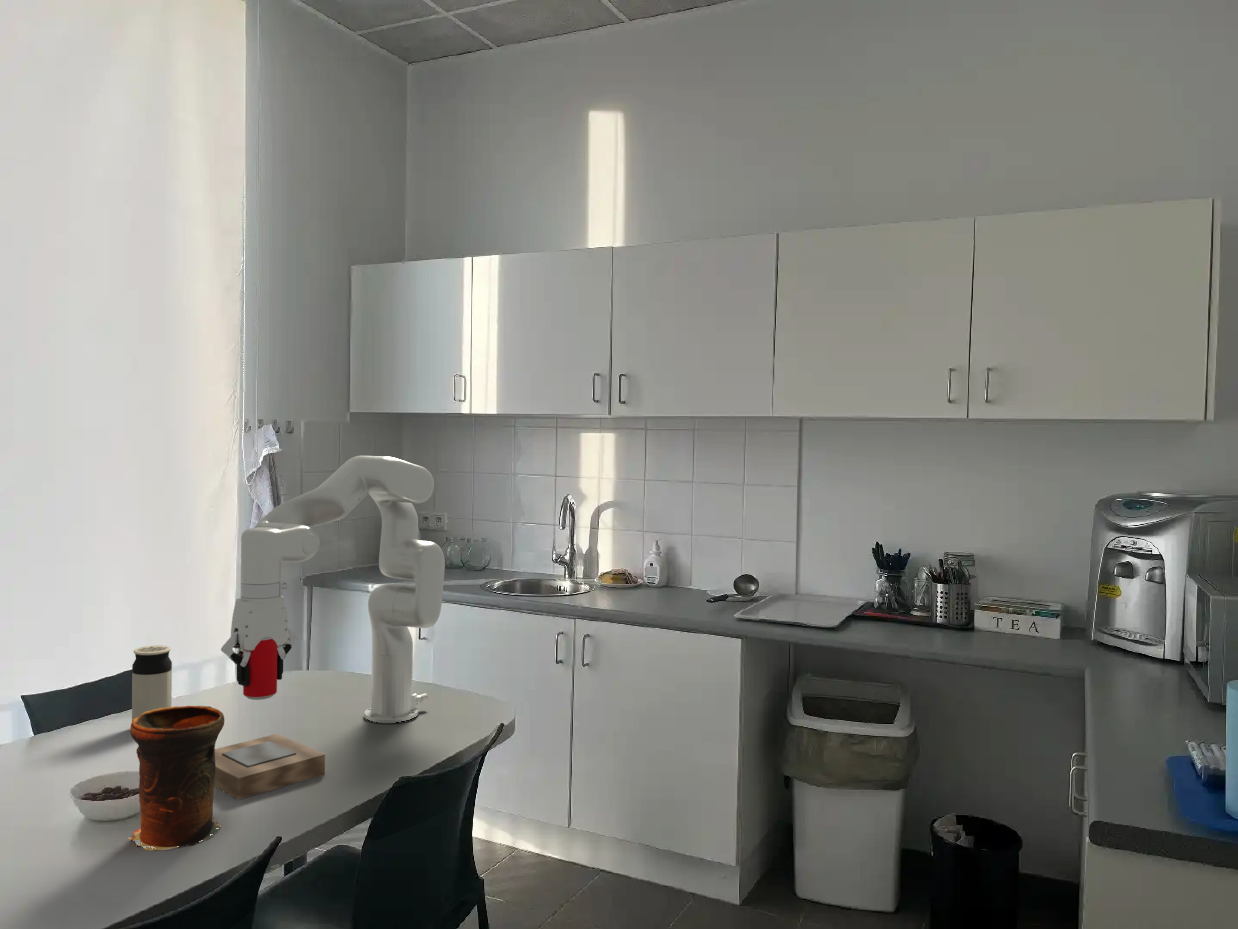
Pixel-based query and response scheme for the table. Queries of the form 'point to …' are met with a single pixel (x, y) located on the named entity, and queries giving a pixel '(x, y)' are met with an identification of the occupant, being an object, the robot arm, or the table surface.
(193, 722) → the vessel
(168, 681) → the travel mug
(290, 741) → the walnut plinth
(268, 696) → the beverage can
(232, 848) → the table surface
